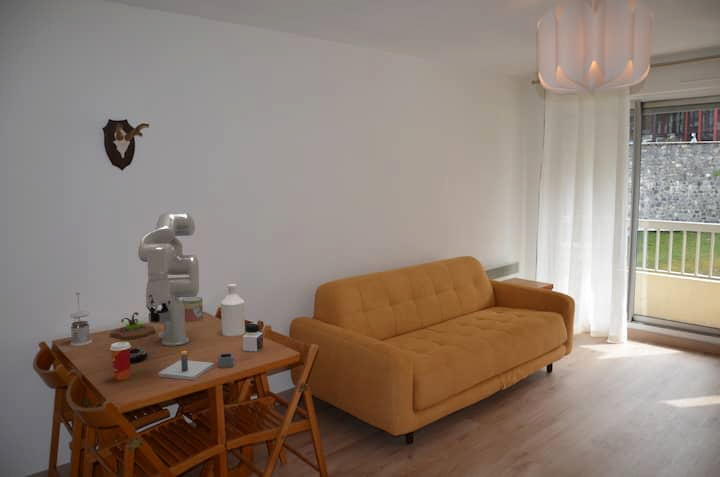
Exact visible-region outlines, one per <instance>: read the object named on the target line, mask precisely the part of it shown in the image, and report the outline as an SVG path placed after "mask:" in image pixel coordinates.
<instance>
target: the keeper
mask: <svg viewBox="0 0 720 477" xmlns="http://www.w3.org/2000/svg"><path fill="white" fill-rule="evenodd" d="M180 358H181V359H180V360H177V361H176V362H175V363H173V364H171V365H169V366H168V367H166V368H164V369H163V370H161V371H159V372H157V377H159V378H169V379H177V380H178V379H179V380H185V381H187V380H188V381H195V380H196V379H198V378H199V377H201V376H202V375H203V374H205V373H206V372H208V371H210V370H212V369H213V368H214V367H215V363H214V362H206V361H200V360H199V361H198V360H197V361H196V360H188V351H187V350H182V351H180Z"/></svg>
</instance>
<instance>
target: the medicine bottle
mask: <svg viewBox="0 0 720 477" xmlns="http://www.w3.org/2000/svg"><path fill="white" fill-rule="evenodd" d="M263 339H264V334H263V332H260V324H258V323H257V322H250V323H247V324H245V333H244V334H243V335H242V351H244V352H253V351H254V353H255V352H256V353H258V352H259V351H260V350H261V349H263V347H264V340H263Z"/></svg>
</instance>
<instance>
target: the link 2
mask: <svg viewBox="0 0 720 477" xmlns="http://www.w3.org/2000/svg"><path fill="white" fill-rule="evenodd" d="M217 359H218V360H217V362H218V363H217V364H218V368H223V369H224V368H233V367H234V362H235V361H234V360H235V359H234V352H230V353H226V352H225V353H219V354H218V357H217Z"/></svg>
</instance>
